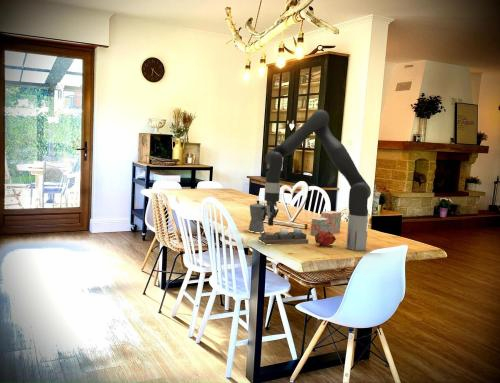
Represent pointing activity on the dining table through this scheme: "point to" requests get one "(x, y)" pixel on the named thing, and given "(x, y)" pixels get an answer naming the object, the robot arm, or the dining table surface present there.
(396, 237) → the dining table surface
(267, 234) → the terracotta button
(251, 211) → the coffeepot
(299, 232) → the slate button
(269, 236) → the button board
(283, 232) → the cream button
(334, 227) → the stack of blocks
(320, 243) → the dragon fruit
